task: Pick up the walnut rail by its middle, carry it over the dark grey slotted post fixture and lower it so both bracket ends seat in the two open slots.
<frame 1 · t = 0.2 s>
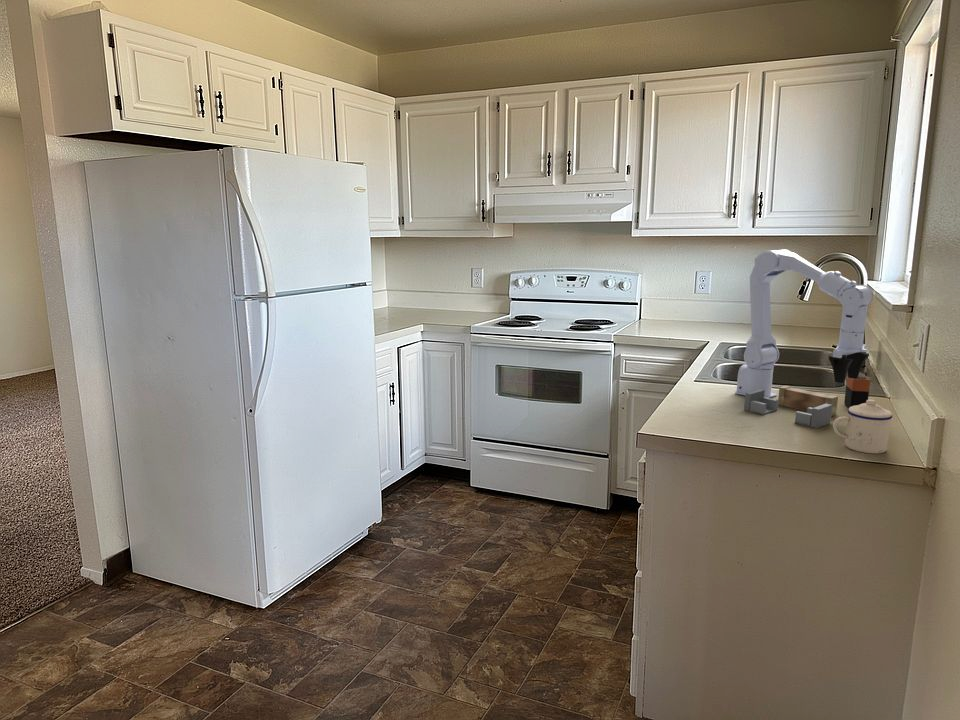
hand: (846, 380, 179), 10 cm above the worktop, fingers open, 7 cm apart
post slots: (785, 416, 180), on the worktop
teacup with lid: (858, 448, 156), on the worktop
rail: (806, 409, 187), on the worktop
battery: (855, 408, 189), on the worktop
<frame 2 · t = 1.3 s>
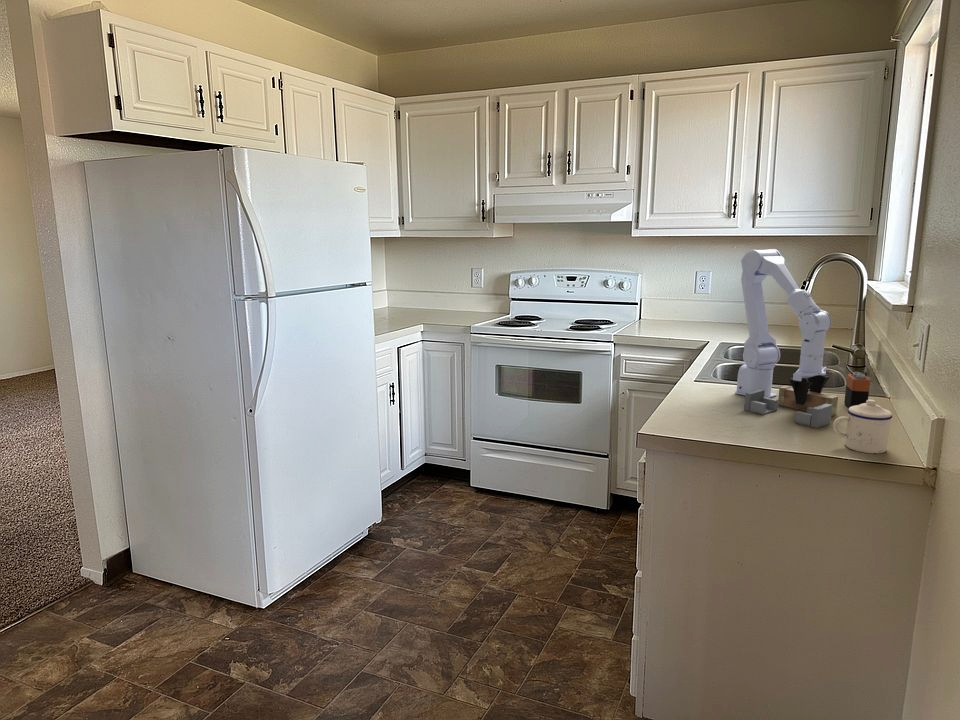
hand: (807, 401, 186), 2 cm above the worktop, fingers open, 7 cm apart
nothing on the worktop moved.
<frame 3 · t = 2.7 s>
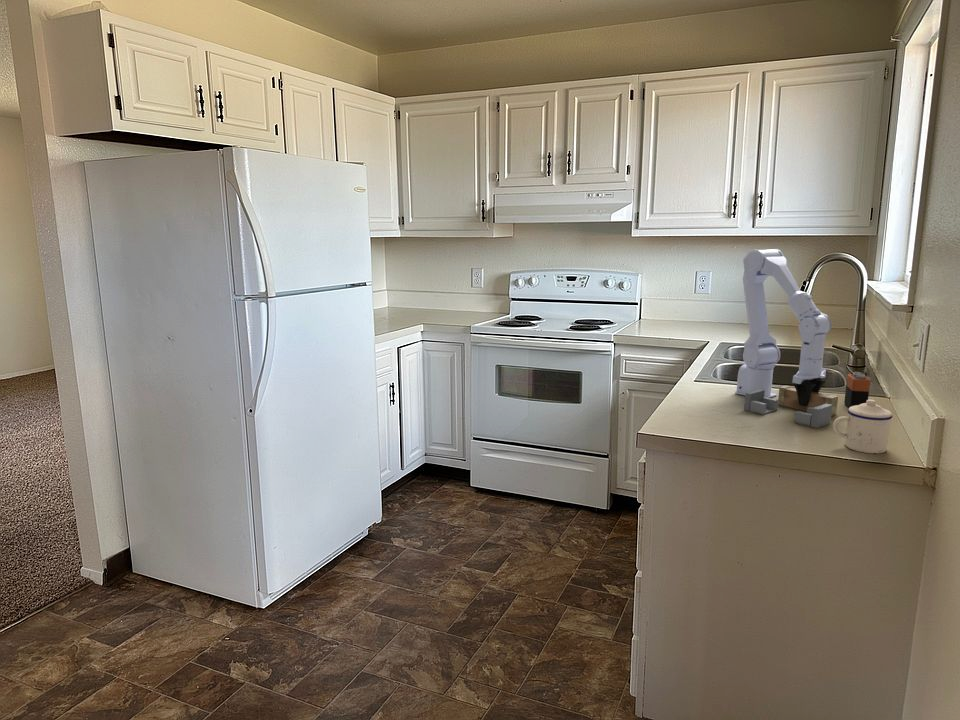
hand: (806, 404, 187), 1 cm above the worktop, fingers closed on rail, 3 cm apart
rail: (806, 409, 187), on the worktop, touching gripper
everything else where it was.
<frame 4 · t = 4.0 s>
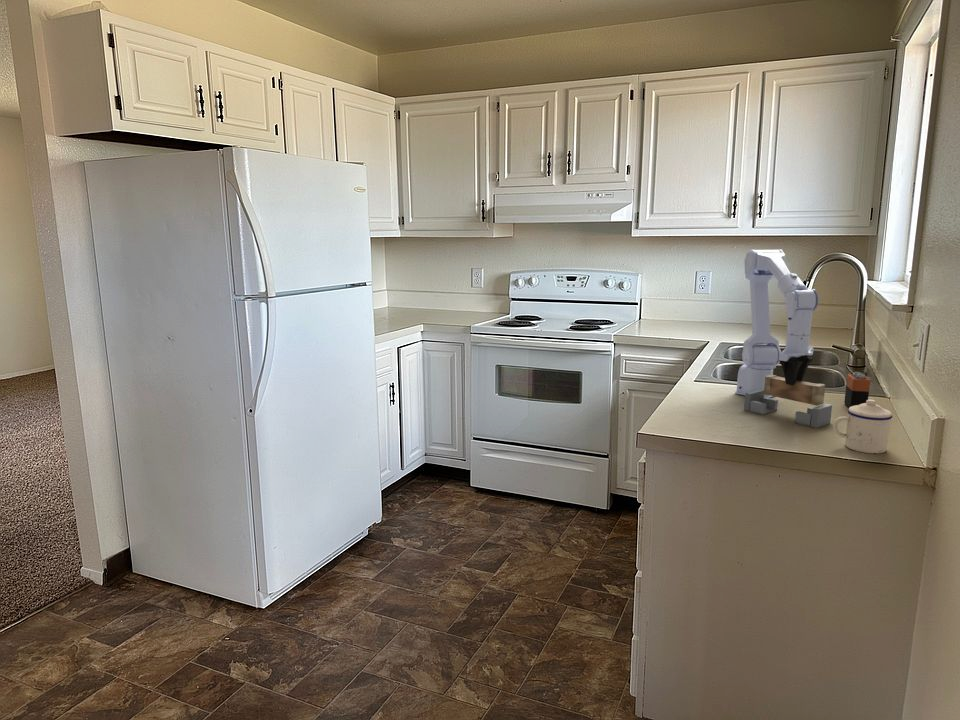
hand: (793, 383, 180), 9 cm above the worktop, fingers closed on rail, 3 cm apart
rail: (792, 398, 181), point 5 cm above the worktop, touching gripper
everything else where it was.
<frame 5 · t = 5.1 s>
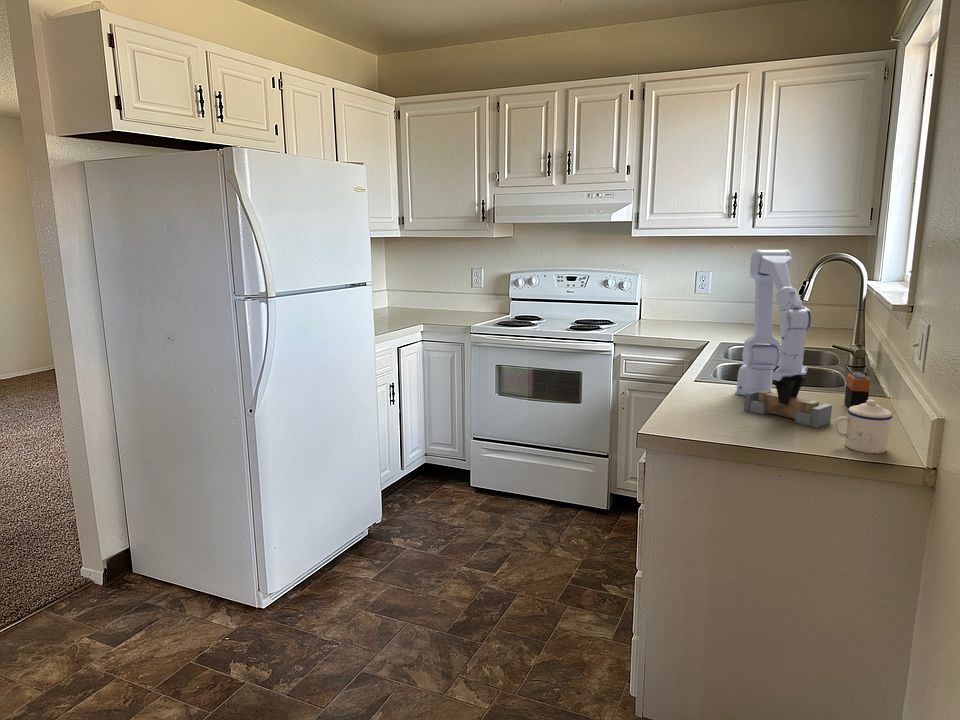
hand: (787, 402, 179), 4 cm above the worktop, fingers closed on rail, 3 cm apart
rail: (786, 415, 180), touching gripper, post slots
everything else where it was.
when the fingers open (3 cm above the worktop, at t = 6.1 s): rail stays where it is, resting on post slots.
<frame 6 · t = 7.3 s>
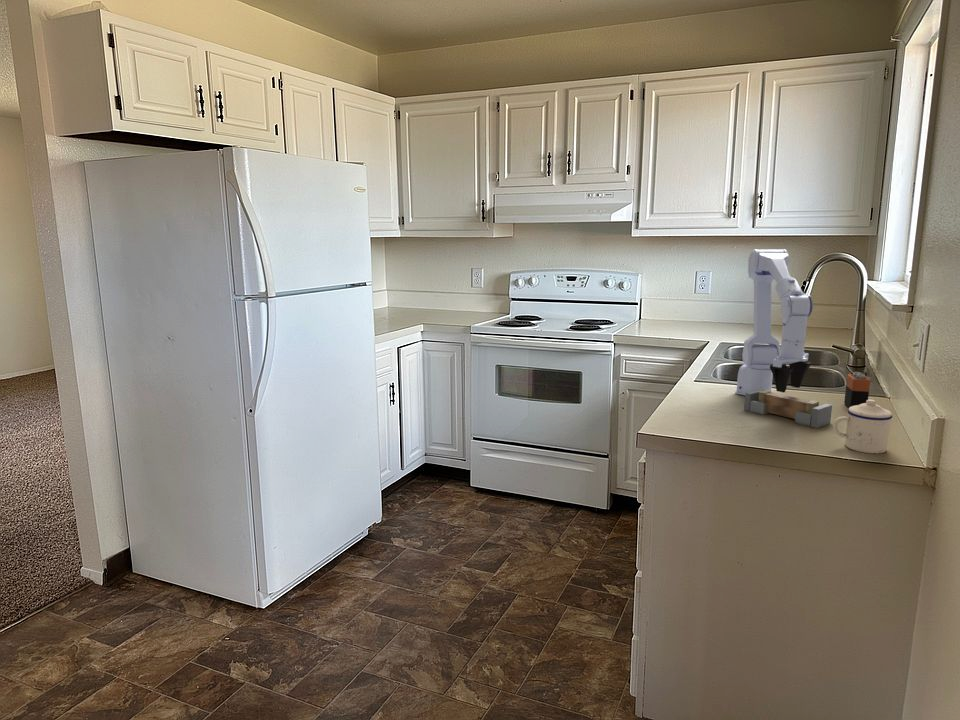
hand: (788, 389, 179), 8 cm above the worktop, fingers open, 7 cm apart
rail: (786, 415, 180), resting on post slots
everything else where it was.
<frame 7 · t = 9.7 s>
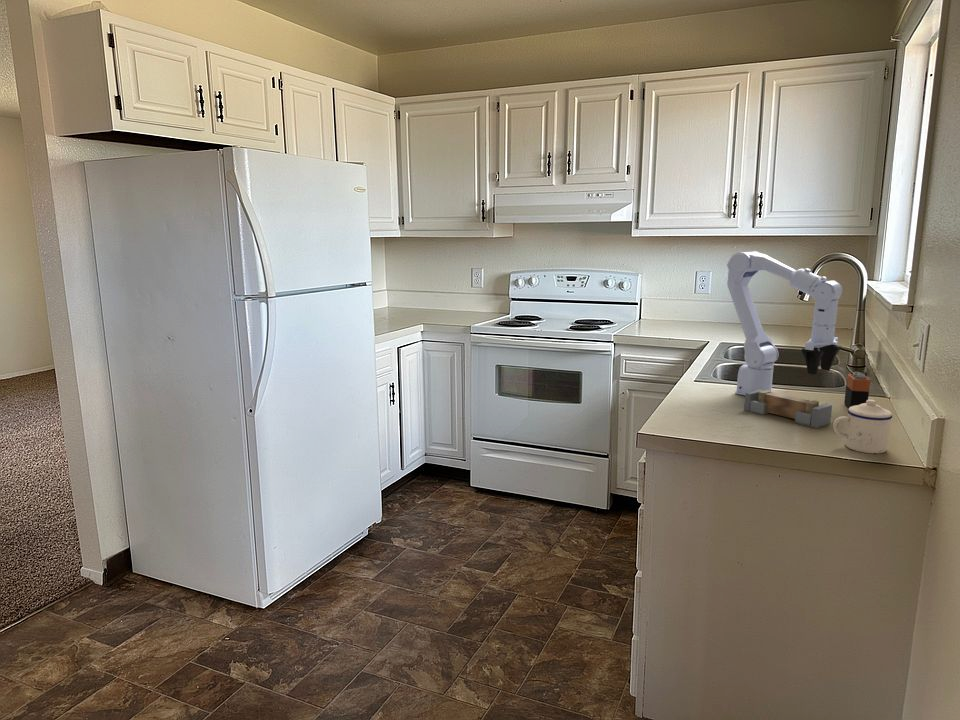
hand: (818, 371, 187), 10 cm above the worktop, fingers open, 7 cm apart
nothing on the worktop moved.
at the end: rail 0.2 cm off-centre on the post slots, point 0.4 cm above the post slots's base; rail tilted 0°; the gripper is holding nothing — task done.
